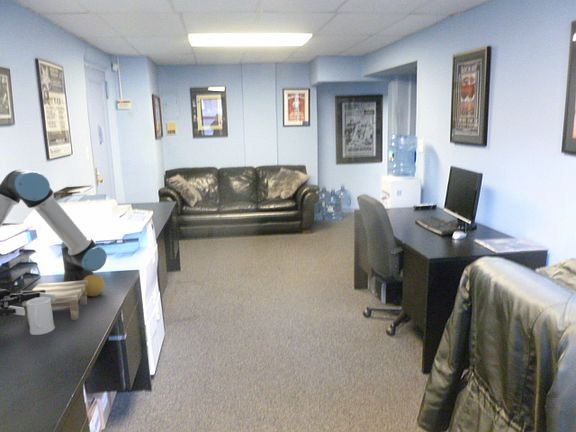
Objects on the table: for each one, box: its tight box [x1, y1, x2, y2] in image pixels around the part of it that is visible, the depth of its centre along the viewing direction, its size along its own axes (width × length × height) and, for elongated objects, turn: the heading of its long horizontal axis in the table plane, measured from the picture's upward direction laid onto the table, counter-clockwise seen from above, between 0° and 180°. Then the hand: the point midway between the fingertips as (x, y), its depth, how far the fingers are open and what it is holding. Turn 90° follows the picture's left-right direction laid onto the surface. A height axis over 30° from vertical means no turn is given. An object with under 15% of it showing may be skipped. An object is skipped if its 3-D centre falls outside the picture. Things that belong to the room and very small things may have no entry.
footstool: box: [21, 280, 88, 325], centre depth 192 cm, size 20×20×10 cm
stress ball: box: [83, 273, 106, 298], centre depth 210 cm, size 10×10×10 cm
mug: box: [26, 297, 56, 336], centre depth 174 cm, size 12×8×12 cm
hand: (39, 304), depth 172 cm, fingers open, 13 cm apart
